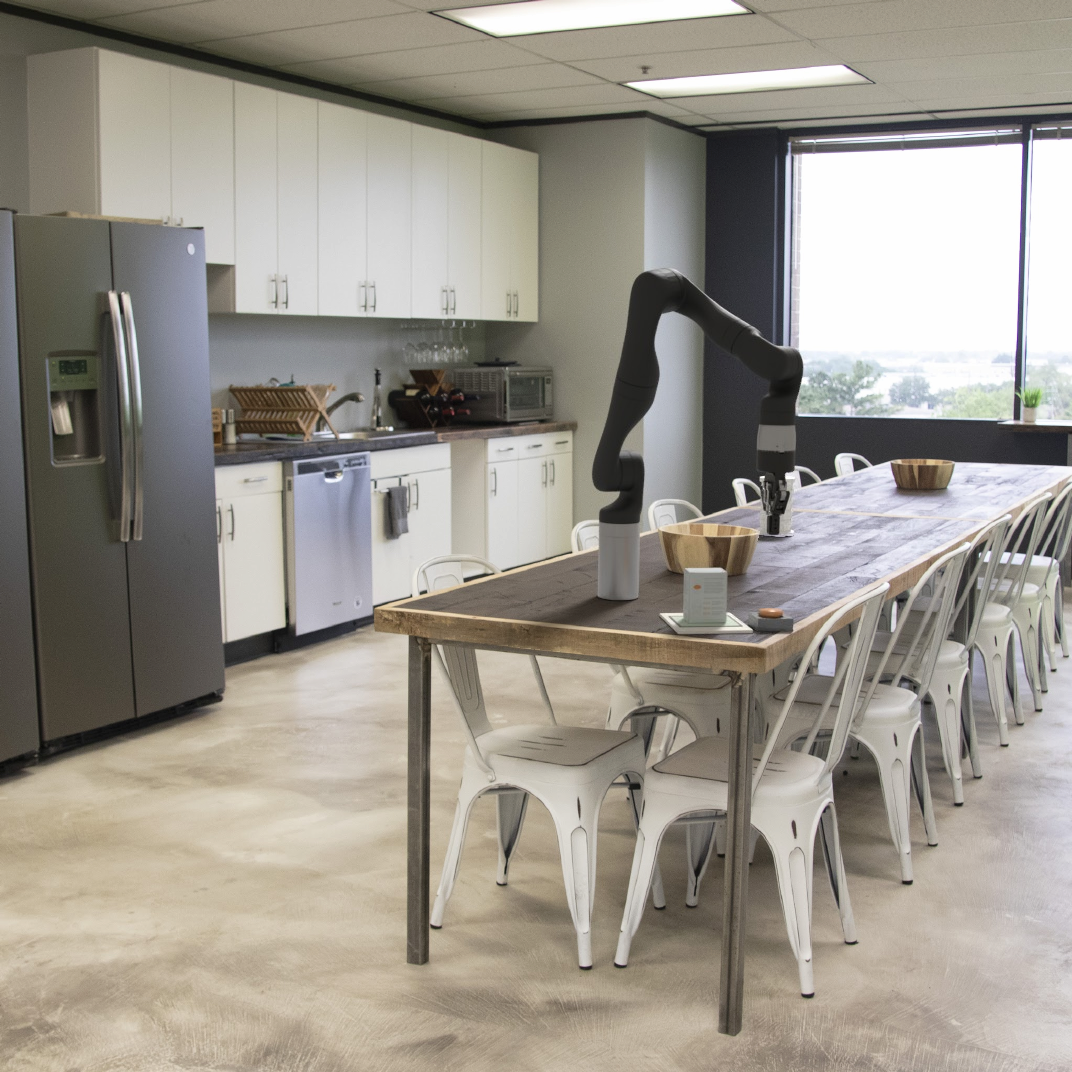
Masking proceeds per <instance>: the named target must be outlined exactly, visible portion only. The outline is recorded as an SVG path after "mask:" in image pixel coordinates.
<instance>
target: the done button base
mask: <svg viewBox="0 0 1072 1072" xmlns="http://www.w3.org/2000/svg"><path fill="white" fill-rule="evenodd" d="M747 618H748V620H747V624H748V625H747V626H749V627H750V628H751V629H752V628H753V629H754V630H755V631H756V632H794V618H793V617H791V615H789V614H787V613H786V612H784V611H783V616H780V618H763V617H762V616H761V615H759V611H749V612H748V617H747Z"/></svg>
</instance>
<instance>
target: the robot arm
mask: <svg viewBox="0 0 1072 1072" xmlns="http://www.w3.org/2000/svg"><path fill="white" fill-rule="evenodd" d="M628 302H629V303H628V311H627V321H626V328H625V329H626V330H625V334H624V339H623V343H622V348H621V353H620V357H619V358H620V359H619V363H618V367H617V369H616V375H615V378H614V382H613V383H614V384H613V388H612V393H611V394H612V395H611V398H610V404H609V406H608V413H607V417H606V420H605V423H604V427H603V430H602V433H601V437H600V438H599V439H600V440H599V442H598V445H597V448H596V452H595V455H594V459H593V463H592V469H591V478H592V485H593V486H594V488H595V489H596V490H597V491H599V492H603V493H604V492H605V493H616V492H618V493H619V495H618V497H617V498H616V499H615V500H614V501H612V502H611V503H609V504H608V505H605V506H603V507H602V508H600V509H599V512H598V554H597V555H598V556H597V557H598V559H597V560H598V561H597V562H598V563H597V564H598V566H597V597H598V598H599V599H603V600H611V601H630V600H636V599H637V598H639V589H640V587H639V584H640V583H639V582H640V546H641V545H640V544H641V543H640V541H641V540H640V538H641V536H640V535H641V514H642V510H643V505H644V504H643V502H644V490H645V489H644V487H645V476H646V475H645V472H646V471H645V468H646V467H645V462H644V458H643V456H642V454H641V453H640V452H639V451H637V450H633V449H626V450H625V449H624V450H623V449H622V447H623V445H624V443H625V441H626V439H627V437H628V436H629V434H630V433H631V431H632V430H633V429H634V428H635V427H636V426H637V424H638V423H640V421H641V420H642V419H643V418H644V417H645V416H646V415H647V414H648V412H649V411H650V410H651V408H652V406H653V404H654V402H655V398H656V395H657V390H658V388H659V387H658V386H659V383H660V382H659V381H660V377H661V376H660V375H661V373H660V365H659V363H660V362H659V359H658V356H657V351H656V347H655V346H656V345H655V344H656V343H655V341H656V334H657V331H658V326H659V322H660V319H661V318H662V317H661V316H662V315H663V314H669V313H671V312H674V313H675V314H676V313H677V314H679V315H682V316H684V317H686V318H688V319H690V320H691V321H693V322H695V323H696V325H698V326H699V327H700V329H701V330H702V332H703V333H704V334H705V336H706V337H707V339H709V341H710V342H711V343H713V344H714V345H715V346H716V347H717V348H719V349H721V350H722V351H724V352H725V353H727V354H728V355H730V356H732V357H733V358H735V359H736V360H738V361H740V362H741V363H742V365H744V366H745V367H746V368H747V369H748V370H749V371H750V372H752V373H753V374H754V375H755V376H756V377H758V378H760V379H761V380H764V381H766V382H769V387H768V392H767V393H766V394H765V395H764V396H762V397H761V400H760V402H759V415H758V416H759V417H758V419H759V420H758V424H759V425H758V431H757V437H756V438H757V439H756V466H755V468H756V471H757V472H761V473H764V476H765V477H764V481H763V485H762V484H760V485H759V491H760V499H761V498H762V504H763V510H764V511H766V515H768V516H767V534H769V535H778V534H779V530H780V516H781V515H782V514H784V513H785V510H786V506H787V503H788V500H789V497H790V491H786V490H787V482H786V475H787V474H790V473H794V472H795V468H796V467H795V466H796V446H797V444H796V443H797V434H796V433H797V432H796V404H797V400H798V397H799V393H800V389H801V385H802V382H803V381H802V380H803V376H804V361H803V357H802V355H801V352H799V350H798V349H796V348H795V347H792V346H789V345H776V344H773V343H772V342H770V341H769V340H767V339H766V338H764V335H763V333H762V332H761V331H760V330H759V329H757V328H756V327H754V326H753V325H751V324H749V323H748V322H746V321H744V320H742V319H741V318H740V317H739V316H736V315H734V314H733V313H731V312H729V311H728V310H727V309H725V308H724V307H722V306H721V305H720V304H719V303H717V302H716V301H714V300H713V299H712V298H710V297H709V296H708V295H707V294H706V293H705V292H703V291H702V289H700V288H699V287H698V286H697V285H696V284H694V283H693V282H692V281H691V280H690V279H689V278H688V277H687V276H685V275H684V274H683V273H681V272H680V271H679V270H677V269H675V268H672V267H662V268H661V267H660V268H655V269H650V270H646V271H645V270H644V271H643V272H641V273H640V274H639V275H637V277H635V279H634V281H633V283H632V286H631V290H630V296H629V301H628Z"/></svg>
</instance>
